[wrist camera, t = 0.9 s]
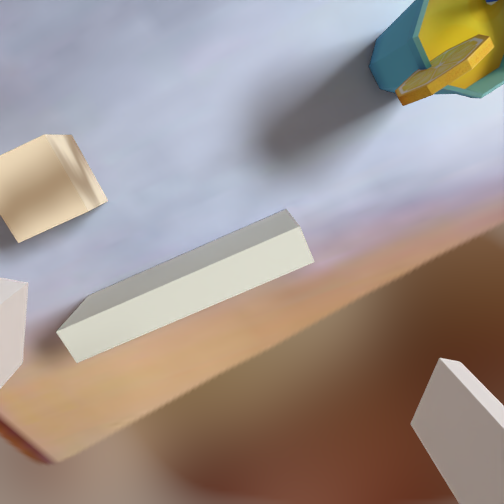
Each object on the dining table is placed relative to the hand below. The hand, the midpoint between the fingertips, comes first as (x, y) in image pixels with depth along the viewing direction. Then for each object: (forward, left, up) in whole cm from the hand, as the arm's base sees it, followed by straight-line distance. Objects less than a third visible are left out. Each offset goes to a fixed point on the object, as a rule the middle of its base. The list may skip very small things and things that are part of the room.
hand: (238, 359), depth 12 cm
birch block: (-9, -12, -23) cm, 28 cm away
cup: (-7, +19, -23) cm, 31 cm away
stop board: (+3, -5, -23) cm, 24 cm away
